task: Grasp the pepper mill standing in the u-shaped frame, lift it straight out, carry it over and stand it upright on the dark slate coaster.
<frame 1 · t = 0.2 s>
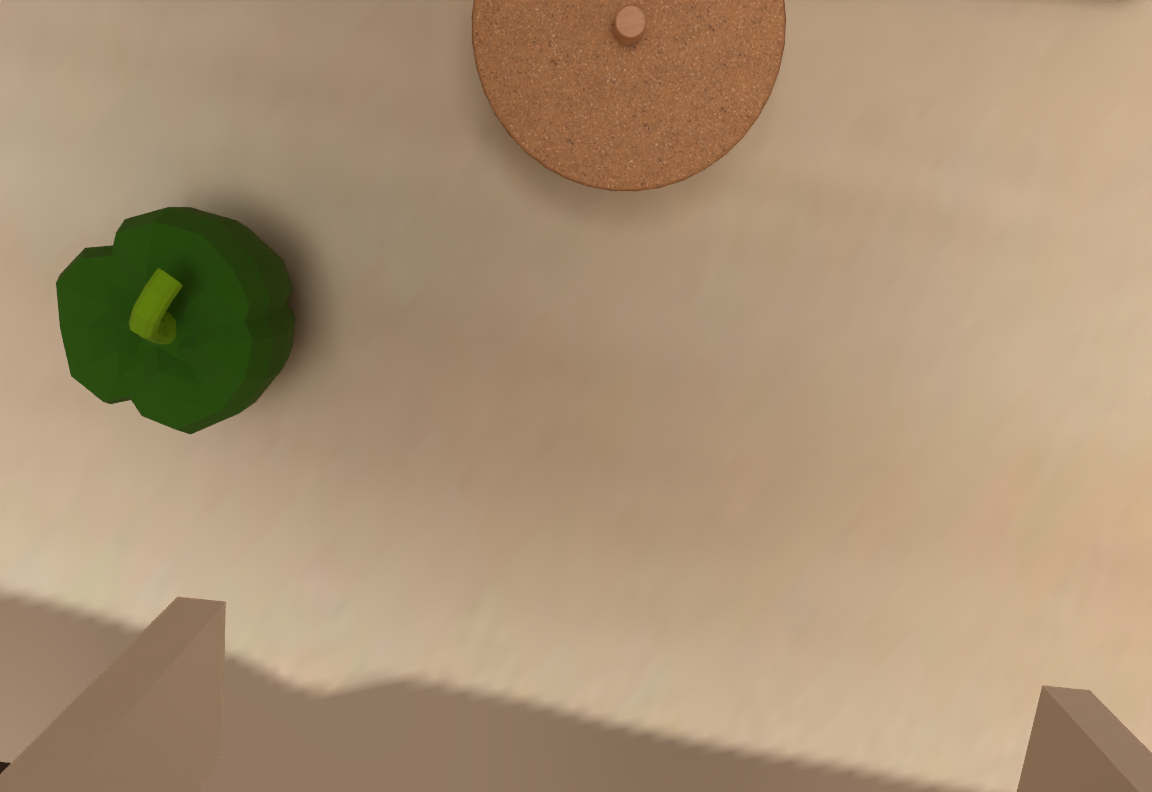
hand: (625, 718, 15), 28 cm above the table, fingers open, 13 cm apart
bell pepper: (237, 304, 42), on the table
lidded jar: (620, 61, 39), on the table
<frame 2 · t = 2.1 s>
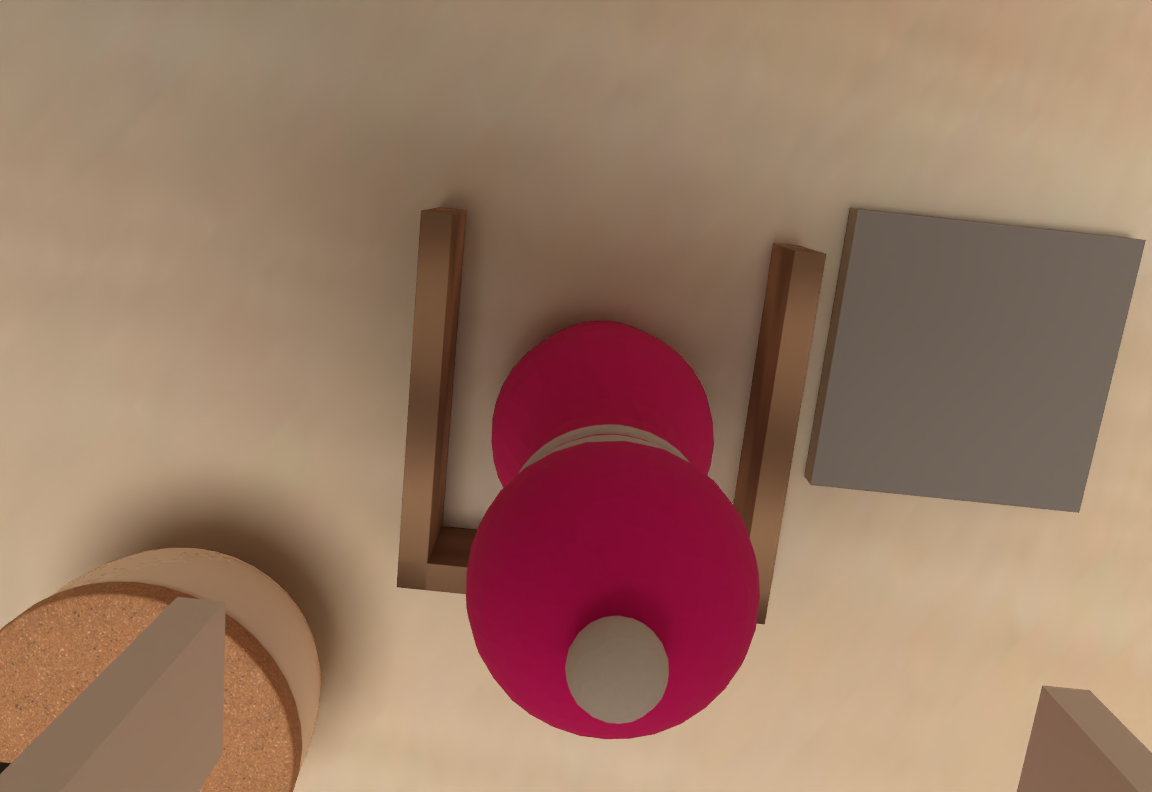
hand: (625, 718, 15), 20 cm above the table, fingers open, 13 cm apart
pepper mill: (600, 401, 35), on the table
coaster: (961, 361, 34), on the table
lidded jar: (221, 631, 37), on the table
u-shaped frame: (600, 403, 34), on the table
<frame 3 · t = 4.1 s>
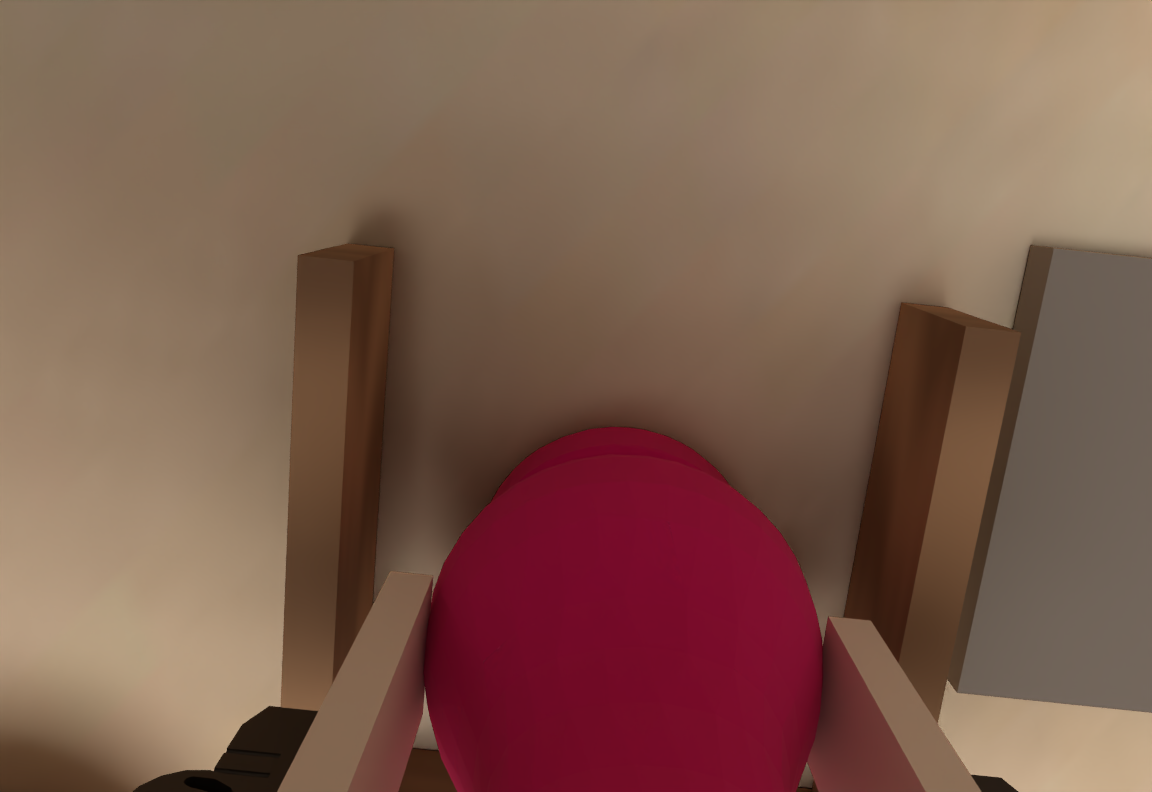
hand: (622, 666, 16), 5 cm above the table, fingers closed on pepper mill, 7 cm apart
pepper mill: (614, 552, 22), on the table, touching gripper
u-shaped frame: (614, 556, 21), on the table
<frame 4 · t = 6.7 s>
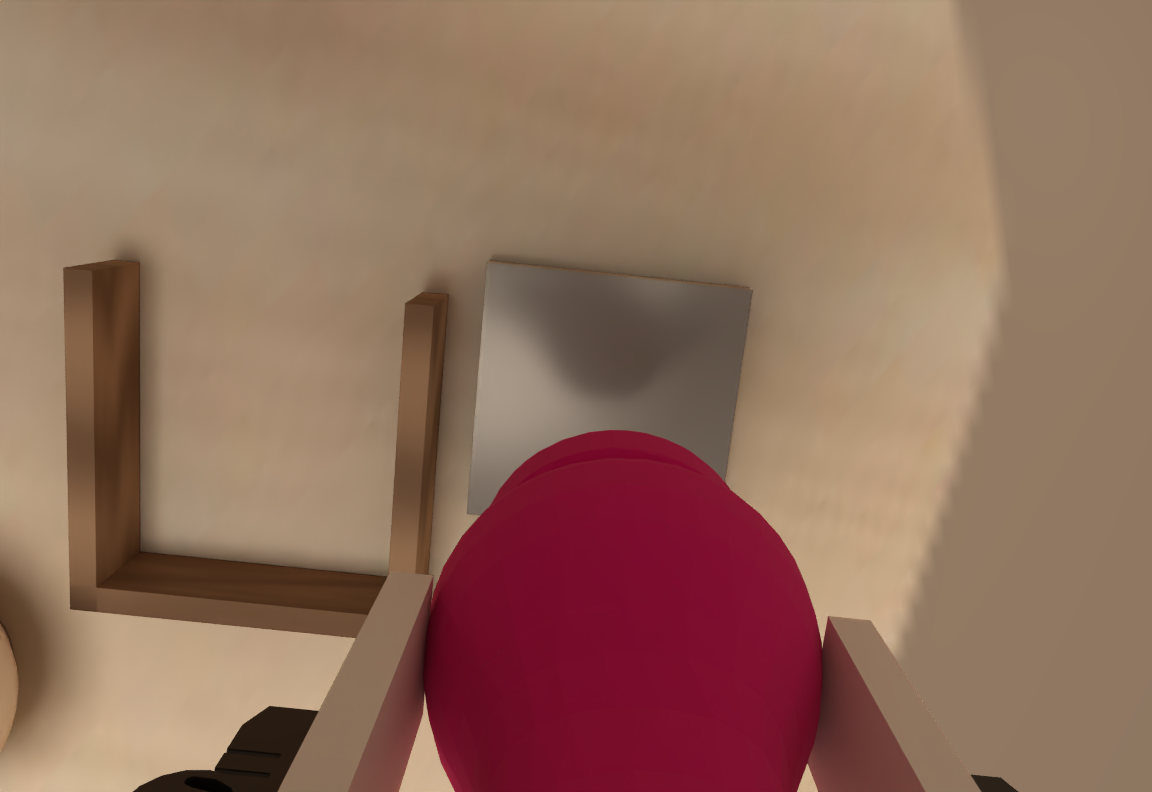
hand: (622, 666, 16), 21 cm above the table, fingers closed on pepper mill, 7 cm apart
pepper mill: (613, 554, 22), point 16 cm above the table, touching gripper
coaster: (605, 399, 37), on the table
u-shaped frame: (276, 438, 37), on the table
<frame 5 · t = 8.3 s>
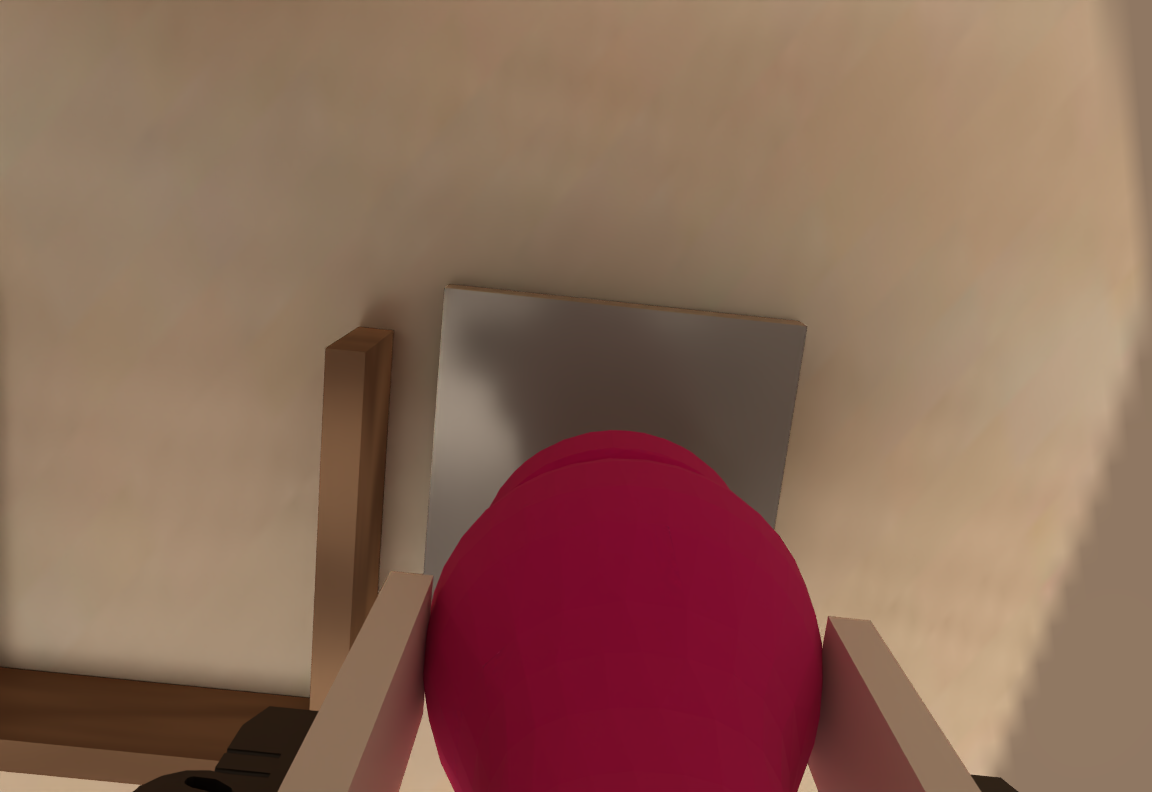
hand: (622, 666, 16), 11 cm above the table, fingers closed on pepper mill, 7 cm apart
pepper mill: (613, 555, 22), point 6 cm above the table, touching gripper
coaster: (605, 469, 27), on the table
u-shaped frame: (165, 519, 28), on the table
when the fingers open (7 cm above the table, at t = 9.5 s): pepper mill drops 1 cm, resting on coaster.
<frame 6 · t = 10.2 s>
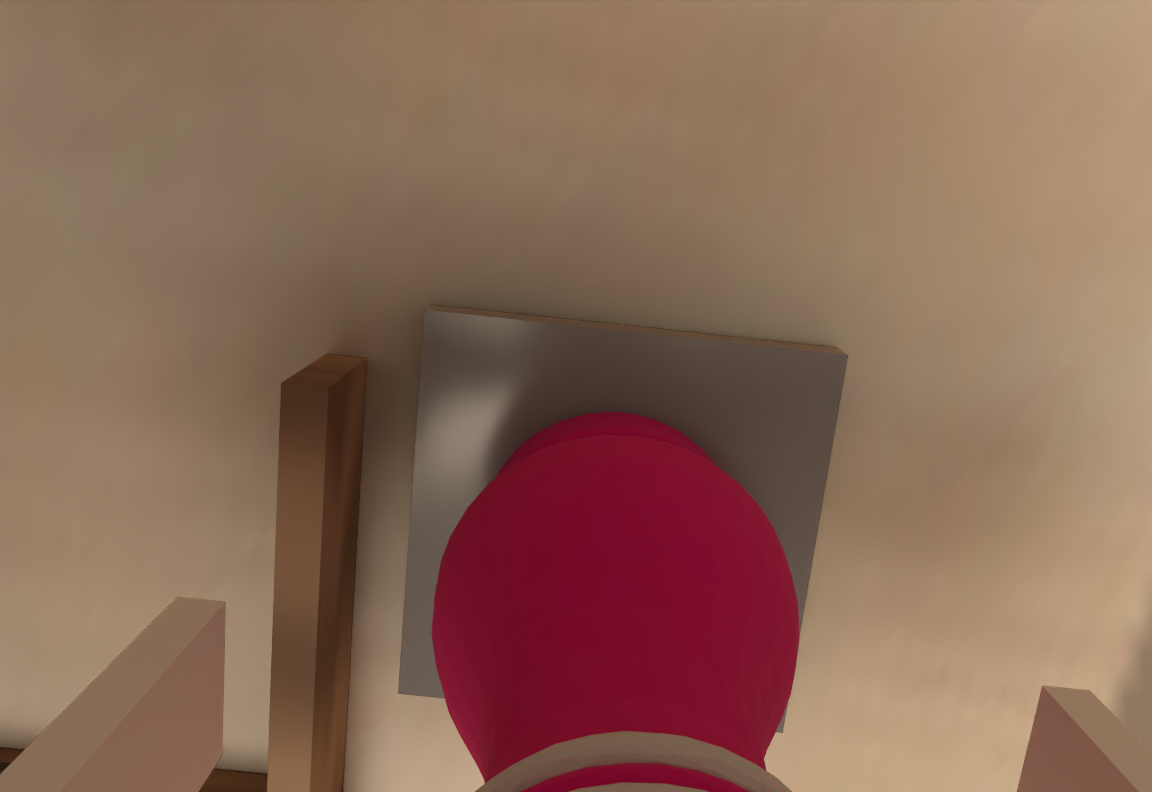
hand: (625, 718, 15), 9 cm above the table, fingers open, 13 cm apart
pepper mill: (608, 529, 23), point 1 cm above the table, touching coaster
coaster: (611, 517, 24), on the table
u-shaped frame: (107, 574, 24), on the table
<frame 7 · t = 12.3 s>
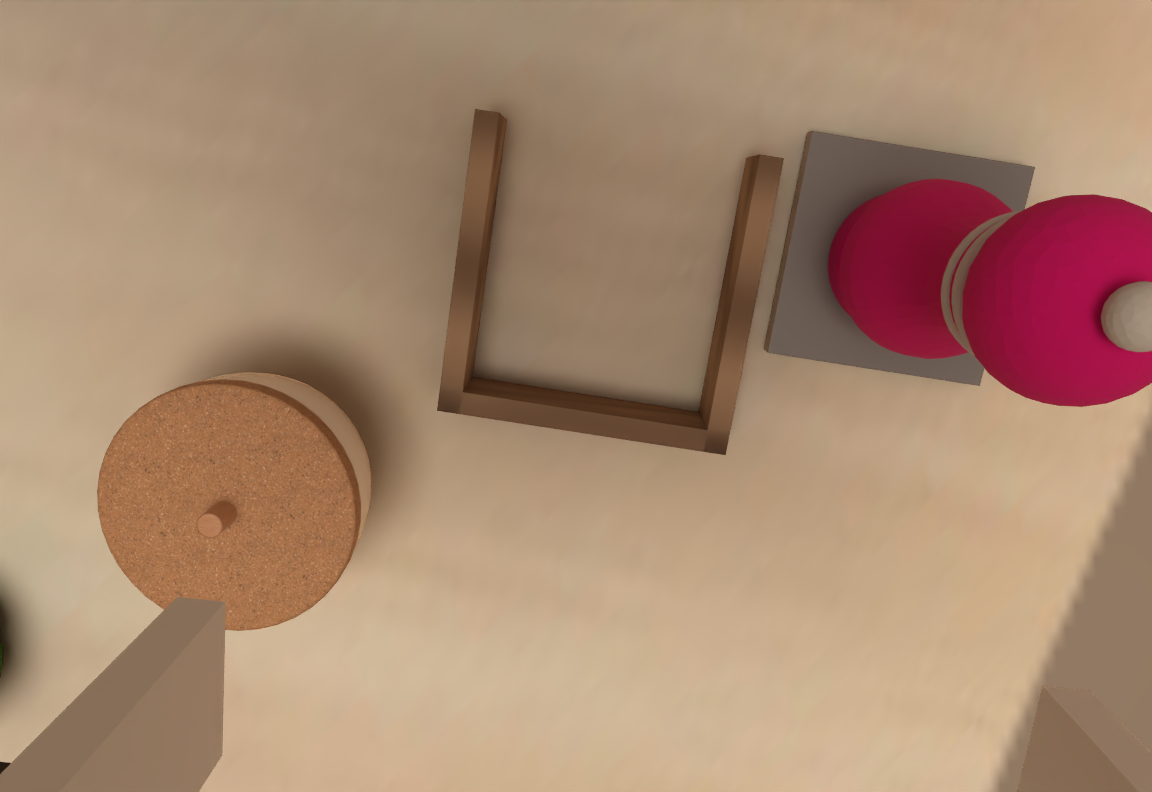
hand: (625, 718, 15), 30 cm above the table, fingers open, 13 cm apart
pepper mill: (894, 261, 42), point 1 cm above the table, touching coaster
coaster: (891, 260, 43), on the table
lidded jar: (287, 457, 46), on the table
u-shaped frame: (603, 281, 43), on the table
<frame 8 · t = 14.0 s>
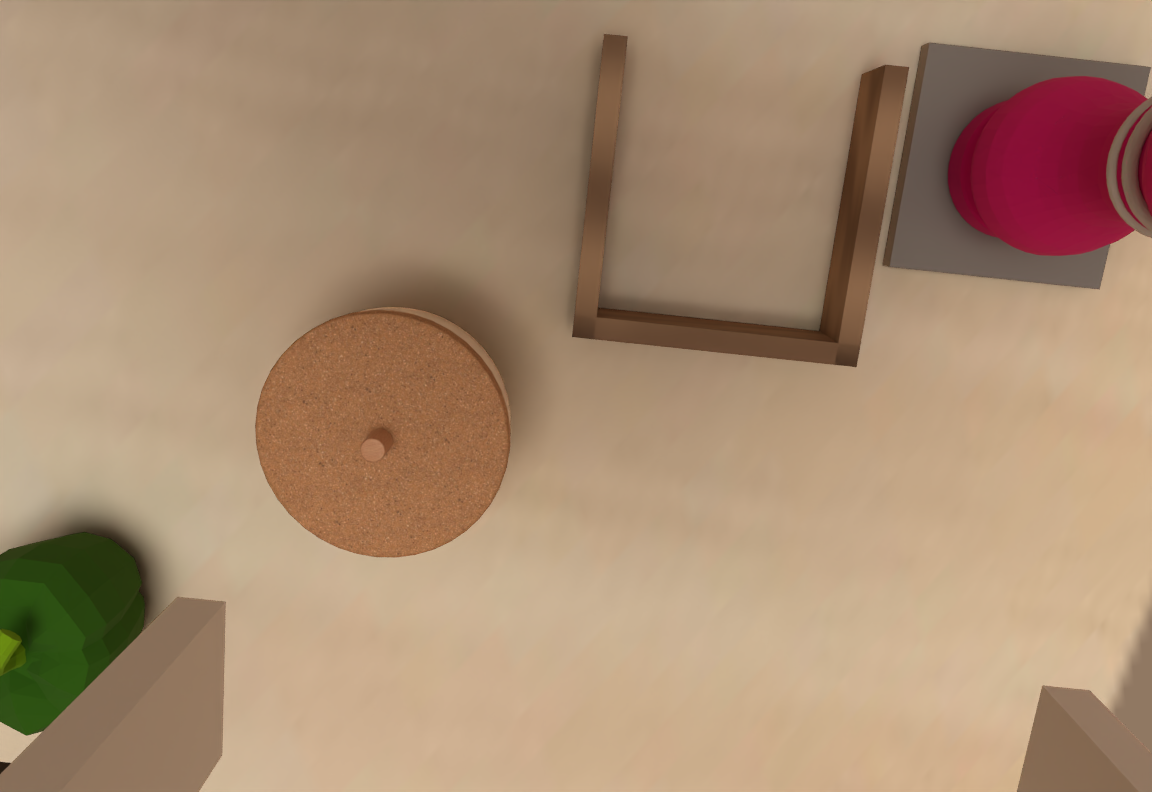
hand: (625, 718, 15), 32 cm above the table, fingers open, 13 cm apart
pepper mill: (1012, 169, 43), point 1 cm above the table, touching coaster
coaster: (1007, 169, 43), on the table
bell pepper: (99, 585, 49), on the table
lidded jar: (415, 397, 47), on the table
u-shaped frame: (723, 205, 44), on the table
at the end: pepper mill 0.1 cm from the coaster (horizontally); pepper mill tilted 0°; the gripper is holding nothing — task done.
